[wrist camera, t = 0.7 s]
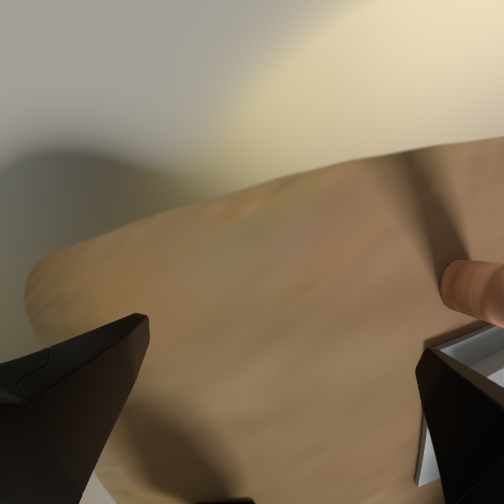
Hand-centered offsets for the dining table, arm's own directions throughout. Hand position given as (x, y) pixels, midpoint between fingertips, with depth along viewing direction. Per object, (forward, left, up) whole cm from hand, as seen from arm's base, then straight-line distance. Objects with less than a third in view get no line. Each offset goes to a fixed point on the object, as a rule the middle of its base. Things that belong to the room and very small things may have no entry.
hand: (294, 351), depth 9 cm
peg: (-3, -17, -14) cm, 22 cm away
